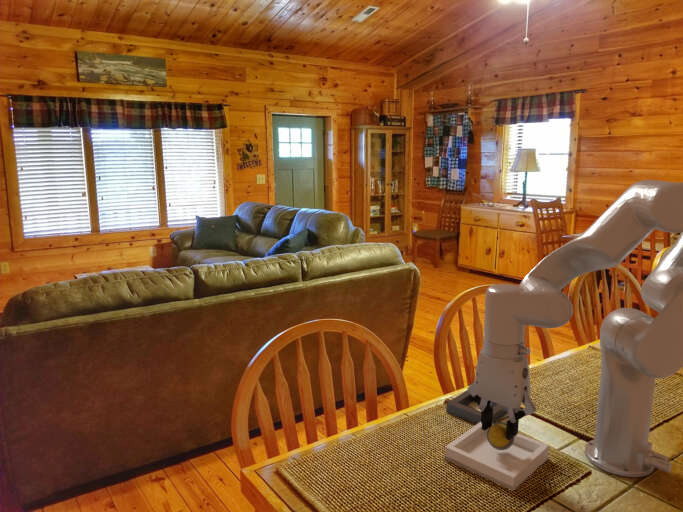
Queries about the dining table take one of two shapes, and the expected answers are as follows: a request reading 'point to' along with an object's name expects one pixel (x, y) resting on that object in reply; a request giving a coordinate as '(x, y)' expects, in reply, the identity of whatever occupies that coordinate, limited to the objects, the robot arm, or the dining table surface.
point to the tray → (497, 457)
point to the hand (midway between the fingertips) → (498, 431)
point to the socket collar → (462, 411)
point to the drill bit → (499, 436)
